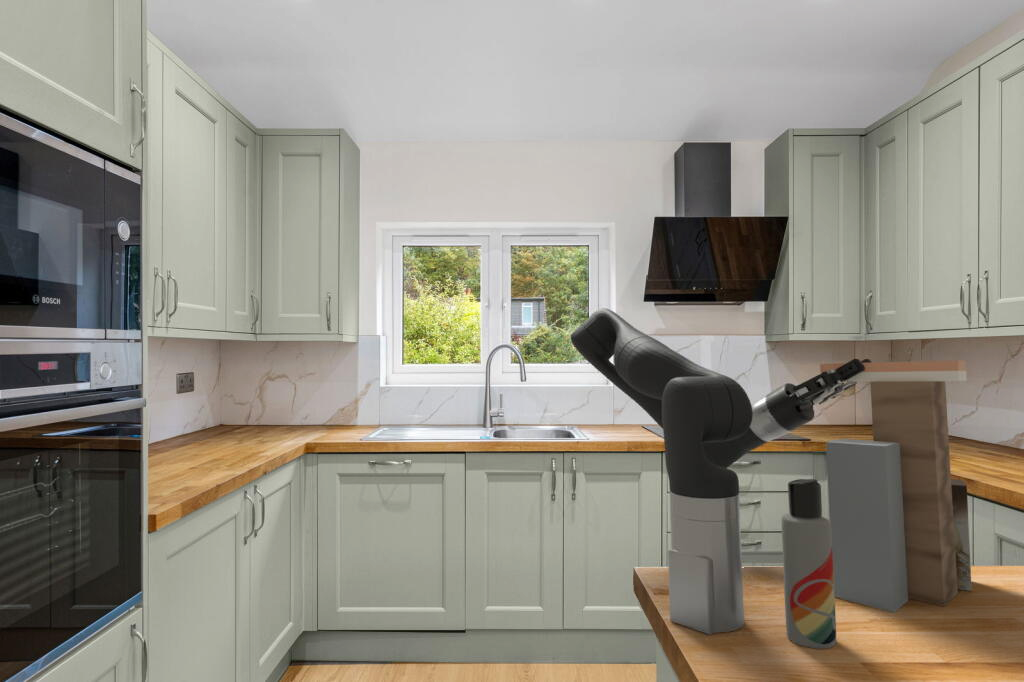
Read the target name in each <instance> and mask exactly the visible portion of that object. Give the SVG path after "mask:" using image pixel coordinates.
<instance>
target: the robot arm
mask: <svg viewBox="0 0 1024 682" xmlns="http://www.w3.org/2000/svg"><path fill="white" fill-rule="evenodd" d="M570 341H571V343H572V345H573V347H574V348H575V349H576V351H577V352H578V353H579V354H580V355H581V356H582V357H583V358H584V359H585V360H586V361H587V362H588V363H589V364H590V365H592V366H593V367H594V369H596V370H597V371H598V372H599V373H600V374H601V375H603V376H604V377H605V378H607V379H608V380H609V381H610V382H611V383H612V384H613V385H614V386H615V387H617V388H618V389H619V390H621V391H622V392H623V393H624V394H626V395H627V396H628V398H630V399H631V400H632V401H634V402H635V404H638V406H640V407H641V409H642V410H643V411H645V412H646V413H647V415H649V416H650V417H651V418H652V420H654V422H656V424H657V425H658V426H659V427H660V428H661V429H662V430H663V432H662V433H663V442H664V445H663V446H664V455H665V456H664V457H665V458H664V459H665V466H666V467H665V468H666V472H667V476H668V483H669V484H668V485H669V487H668V488H669V514H670V517H669V518H670V519H669V520H670V547H671V548H670V549H669V550H668V551H667V559H668V560H667V561H668V564H667V565H668V595H669V600H668V602H669V620H670V621H671V622H673V623H676V624H679V625H682V626H685V627H687V628H690V629H692V630H696V631H699V632H701V633H704V634H706V635H713V634H714V633H727V632H732V631H736V630H739V629H741V628H742V627H744V623H745V615H744V614H745V613H744V612H745V611H744V588H743V587H744V586H743V585H744V583H743V563H742V561H743V560H742V559H743V557H742V541H741V540H742V537H741V511H740V508H741V507H740V506H741V505H740V483H739V481H740V480H739V476H738V474H737V472H736V471H734V470H732V469H730V468H729V467H731V466H732V465H733V464H734V463H737V461H738V460H739V459H741V458H742V457H744V456H745V455H746V454H747V453H749V452H751V451H753V450H755V449H757V448H760V447H762V446H764V445H765V444H767V443H769V442H771V441H773V440H776V439H778V438H782V436H786V435H787V434H788V433H791V432H792V431H794V430H796V429H798V428H800V427H802V426H804V425H806V424H807V423H810V422H811V421H813V420H814V418H815V410H814V406H816V405H818V404H819V405H823V404H826V403H828V402H829V401H830V400H831V399H836V397H838V396H840V395H842V394H843V393H844V392H846V391H847V390H849V389H851V388H852V387H855V386H856V385H858V382H843V381H846V380H848V379H850V378H851V377H853V376H855V375H857V374H859V373H860V372H862V371H864V370H865V367H864V365H863V364H862V363H873V362H872V360H871V359H870V358H865V359H862V360H860V359H859V358H854V359H853V358H852V360H850V361H848V362H845V363H846V364H844V365H843V366H841V367H839V368H838V369H836V370H835V369H834V370H830V371H829V372H827V371H826V372H822V373H821V372H820V373H819V374H818V375H815V376H814V377H812V378H809V379H808V380H806V381H804V382H801V383H800V384H797V385H795V384H793V383H789V382H788V383H785V384H783V385H781V386H779V387H777V388H776V389H774V390H773V391H771V392H769V393H767V394H766V395H764V396H763V397H761V398H759V399H757V400H756V401H754V402H753V403H751V400H750V397H749V396H748V394H747V392H746V390H745V389H744V388H743V386H741V384H740V383H739V382H738V381H736V380H735V379H733V378H731V377H729V376H727V375H724V374H721V373H719V372H716V371H714V370H711V369H708V368H706V367H703V366H702V365H699V364H697V363H695V362H694V361H692V360H690V359H689V358H687V357H685V356H684V355H681V354H680V353H679V352H677V351H676V350H673V349H672V348H671V347H669V346H667V345H666V344H664V343H663V342H661V341H659V340H658V339H656V338H654V337H653V336H650V335H648V334H646V333H644V332H643V331H640V330H639V329H637V328H636V327H634V325H631V324H630V323H629V322H628V321H626V320H625V319H624V318H623V317H621V316H620V315H619V314H617V312H615V311H613V310H611V309H609V308H605V307H602V308H599V309H597V310H595V311H593V313H592V314H591V315H590V316H589V317H587V319H586V320H584V321H583V322H582V323H581V324H580V325H579V326H578V327H577V328H576V329H575V330H574V331H573V332H572V333H571V334H570ZM612 357H613V362H611V361H610V359H611V358H612ZM842 379H843V381H842Z"/></svg>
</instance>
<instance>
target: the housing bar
mask: <svg viewBox="0 0 1024 682" xmlns="http://www.w3.org/2000/svg"><path fill="white" fill-rule="evenodd" d="M846 363H847V362H840V363H820V364H819V365H820V366H819V368H820V370H819V371H820V374H821V373H822V372H826V371H827V372H829V371H830V370H834V369H835V370H836V369H838V368H839V367H841V366H843V365H844V364H846ZM862 364H863V365H864V367H865V370H864V371H862V372H860V373H859V374H857V375H855V376H853V377H851V378H850V379H848V380H846V381H843V379H842V381H843V383H847V382H857V383H858V382H861V383H862V382H863V383H865V382H866V383H867V382H868V383H870V382H886V381H945V382H967V381H968V379H967V366H966V365H967V364H966V360H962V359H961V360H958V359H957V360H956V359H955V360H925V361H924V360H922V361H920V360H919V361H916V360H915V361H883V362H882V361H881V362H878V361H875V362H872V363H862Z"/></svg>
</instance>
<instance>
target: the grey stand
mask: <svg viewBox="0 0 1024 682" xmlns="http://www.w3.org/2000/svg"><path fill="white" fill-rule="evenodd" d="M825 447H826V448H825V451H826V472H827V488H828V489H827V490H828V491H827V492H828V496H827V497H828V510H829V511H828V513H829V518H828V519H829V520H830V521H831V533H832V553H833V574H834V595H835V598H836V599H837V598H838V599H840V600H844V601H848V602H853V603H856V604H860V605H864V606H868V607H871V608H876V609H880V610H883V611H888V612H891V613H896V611H898V610H899V609H900V608H902V607H903V606H904V605H906V604H907V603H908V602H909V598H908V588H907V569H906V551H905V533H904V514H903V496H902V477H901V459H900V443H897V442H882V441H873V440H866V439H865V440H864V439H851V438H850V439H849V438H840V439H835V440H829V441H825Z"/></svg>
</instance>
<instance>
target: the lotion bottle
mask: <svg viewBox="0 0 1024 682" xmlns="http://www.w3.org/2000/svg"><path fill="white" fill-rule="evenodd" d="M787 494H788V510H789V511H788V512H789V513H785V514H783V515H782V516H781V543H782V544H781V545H782V547H781V548H782V564H783V565H782V566H783V571H782V572H783V589H784V590H783V591H784V592H783V593H784V609H785V610H784V612H785V613H784V614H785V615H784V616H785V617H784V618H785V631H786V636H787V637H788V639H789V640H790V641H791V642H793V643H795V644H797V645H800V646H801V647H805V648H809V649H810V648H811V649H818V650H821V649H822V650H824V649H831V648H833V647H834V646H835V645H836V644H837V621H836V619H837V618H836V602H835V601H836V600H835V598H836V597H835V595H834V574H833V553H832V533H831V521H830V518H828V517H827V516H823V513H822V512H823V509H822V507H823V506H822V486H821V484H820V483H819V482H818V479H815V478H814V479H813V478H810V479H809V478H807V479H805V478H804V479H803V478H801V479H794V480H791V481H789V482H788V483H787Z"/></svg>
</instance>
